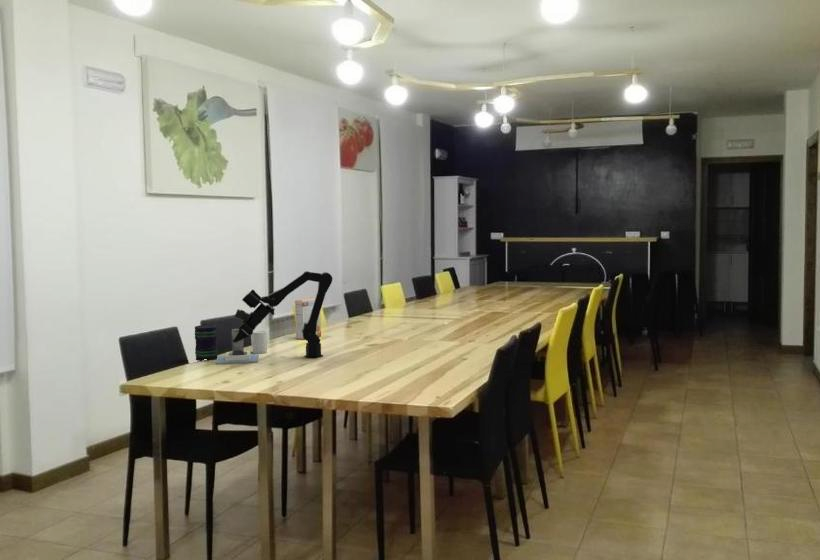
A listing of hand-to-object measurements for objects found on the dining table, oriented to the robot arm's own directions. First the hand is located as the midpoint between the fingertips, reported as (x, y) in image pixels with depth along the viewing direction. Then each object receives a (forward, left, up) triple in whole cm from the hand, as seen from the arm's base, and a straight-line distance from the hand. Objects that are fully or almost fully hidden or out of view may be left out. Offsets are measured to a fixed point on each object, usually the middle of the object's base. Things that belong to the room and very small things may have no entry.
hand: (234, 340), depth 331 cm
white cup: (+5, -20, -9) cm, 23 cm away
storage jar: (+13, +5, -9) cm, 17 cm away
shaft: (-1, -1, -8) cm, 8 cm away
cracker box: (+16, -66, -9) cm, 68 cm away
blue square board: (-1, -1, -9) cm, 9 cm away
